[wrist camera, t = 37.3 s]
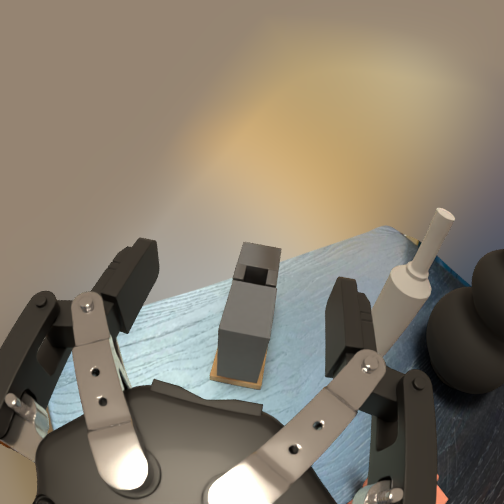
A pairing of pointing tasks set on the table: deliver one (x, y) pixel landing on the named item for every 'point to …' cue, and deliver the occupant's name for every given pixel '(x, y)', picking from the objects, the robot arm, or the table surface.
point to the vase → (471, 330)
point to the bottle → (408, 286)
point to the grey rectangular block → (245, 331)
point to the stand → (260, 273)
